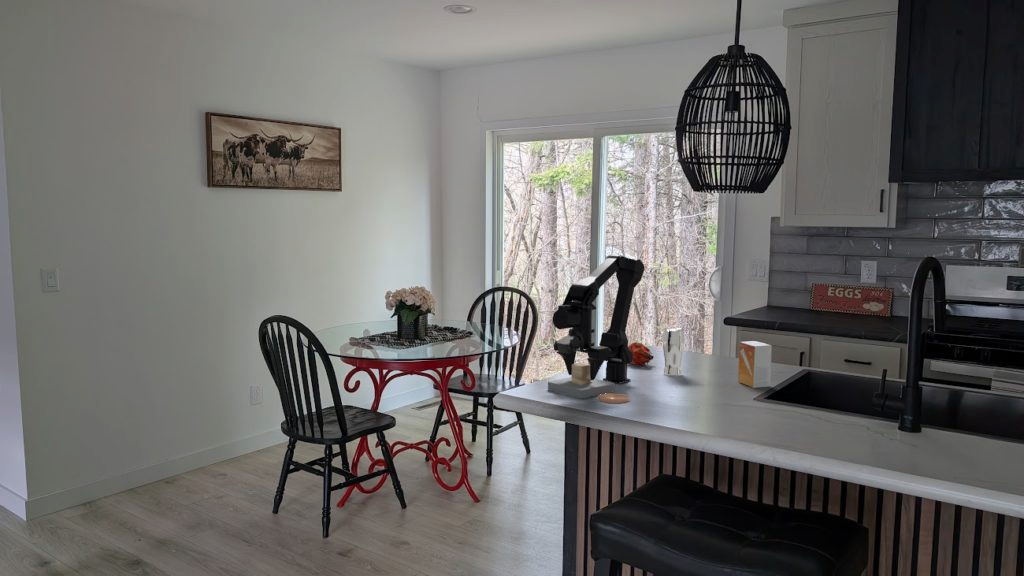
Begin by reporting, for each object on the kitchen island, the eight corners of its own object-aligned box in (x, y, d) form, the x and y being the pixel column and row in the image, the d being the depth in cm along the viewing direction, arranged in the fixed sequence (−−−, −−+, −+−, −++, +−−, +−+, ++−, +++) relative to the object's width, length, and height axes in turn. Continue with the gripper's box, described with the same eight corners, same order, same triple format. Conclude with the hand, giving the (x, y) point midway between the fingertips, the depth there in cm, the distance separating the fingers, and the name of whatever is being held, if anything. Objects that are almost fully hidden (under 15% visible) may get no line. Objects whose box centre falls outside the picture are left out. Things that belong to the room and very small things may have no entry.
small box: (737, 382, 230) (739, 341, 229) (754, 381, 232) (756, 340, 231) (753, 388, 222) (754, 345, 221) (770, 386, 224) (772, 345, 223)
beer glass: (686, 373, 242) (687, 328, 241) (679, 377, 236) (680, 331, 235) (666, 371, 246) (667, 327, 244) (658, 374, 240) (660, 329, 239)
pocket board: (580, 383, 228) (580, 375, 227) (614, 391, 217) (614, 383, 217) (547, 389, 219) (547, 381, 219) (581, 399, 208) (581, 390, 208)
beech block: (580, 388, 221) (581, 362, 220) (590, 391, 218) (590, 364, 217) (571, 390, 218) (571, 364, 217) (581, 393, 215) (581, 366, 214)
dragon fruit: (629, 365, 263) (648, 376, 252) (614, 353, 259) (633, 364, 248) (642, 346, 263) (662, 356, 253) (628, 334, 259) (648, 344, 249)
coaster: (612, 393, 214) (612, 391, 214) (636, 399, 207) (636, 397, 207) (591, 398, 209) (591, 396, 209) (614, 405, 202) (614, 402, 202)
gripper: (540, 324, 218) (540, 375, 219) (585, 332, 204) (584, 387, 205) (567, 321, 225) (566, 370, 227) (612, 328, 211) (611, 381, 212)
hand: (581, 377), depth 218 cm, fingers open, 9 cm apart
